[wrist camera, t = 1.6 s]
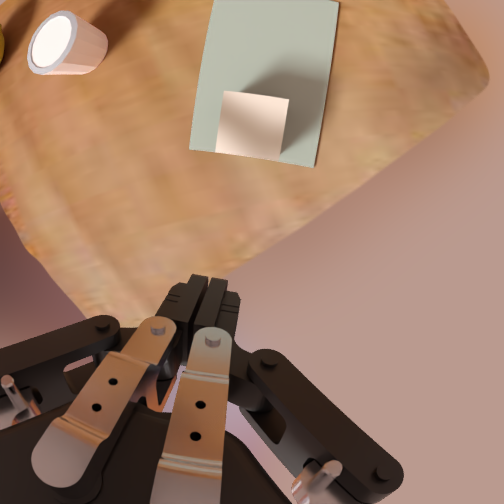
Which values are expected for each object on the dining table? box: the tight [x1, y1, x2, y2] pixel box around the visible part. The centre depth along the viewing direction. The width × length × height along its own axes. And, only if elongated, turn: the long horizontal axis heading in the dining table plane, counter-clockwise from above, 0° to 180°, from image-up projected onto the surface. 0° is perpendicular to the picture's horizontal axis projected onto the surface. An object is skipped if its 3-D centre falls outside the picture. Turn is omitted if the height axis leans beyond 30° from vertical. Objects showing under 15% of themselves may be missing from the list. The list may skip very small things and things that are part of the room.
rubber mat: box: [189, 0, 339, 168], centre depth 23 cm, size 18×12×1 cm, turn 172°
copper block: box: [215, 91, 289, 161], centre depth 23 cm, size 5×5×5 cm
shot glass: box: [27, 11, 108, 75], centre depth 20 cm, size 7×7×7 cm
